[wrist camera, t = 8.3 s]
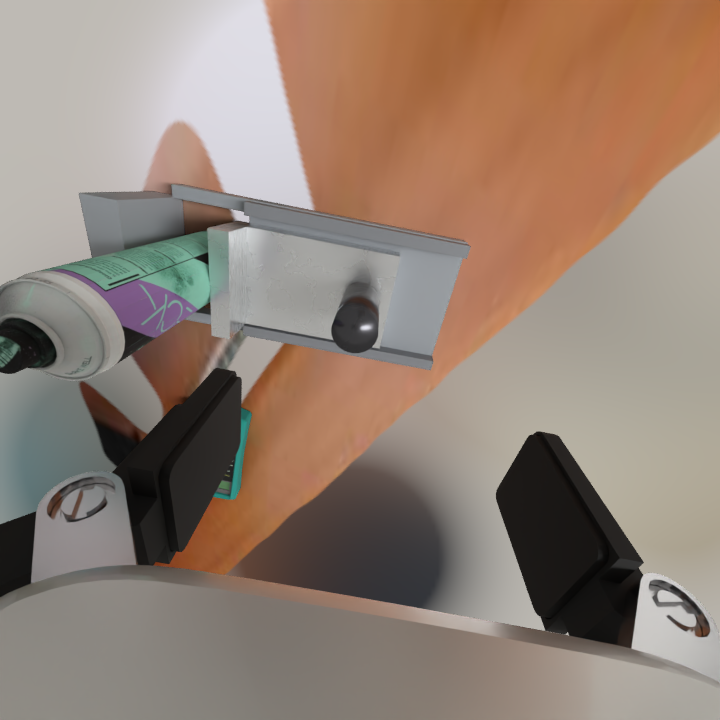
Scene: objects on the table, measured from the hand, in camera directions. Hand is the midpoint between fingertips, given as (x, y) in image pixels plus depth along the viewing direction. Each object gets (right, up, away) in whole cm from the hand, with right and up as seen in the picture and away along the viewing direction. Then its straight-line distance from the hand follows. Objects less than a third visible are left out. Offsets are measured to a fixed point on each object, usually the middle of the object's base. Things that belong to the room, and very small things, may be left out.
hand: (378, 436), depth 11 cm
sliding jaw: (-5, +9, +19) cm, 22 cm away
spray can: (-14, +12, +21) cm, 28 cm away
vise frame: (-6, +10, +21) cm, 24 cm away
